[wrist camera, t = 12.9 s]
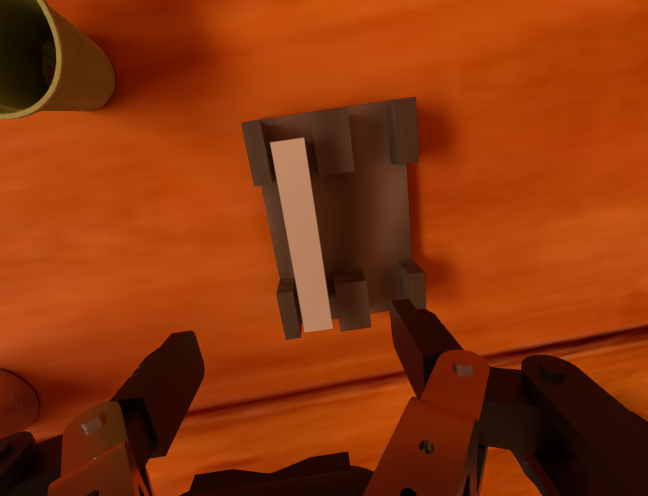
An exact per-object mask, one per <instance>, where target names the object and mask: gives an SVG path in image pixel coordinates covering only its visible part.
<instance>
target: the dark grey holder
mask: <svg viewBox="0 0 648 496" xmlns="http://www.w3.org/2000/svg"><path fill="white" fill-rule="evenodd" d="M241 125H242V129H243V134H244V139H245V144H246V149H247V154H248V159H249V163H250V168H251V173H252V178H253V183H254V186H260V185H261V186H262V191H263V197H264V202H265V207H266V212H267V217H268V222H269V227H270V232H271V237H272V242H273V247H274V252H275V257H276V262H277V267H278V272H279V277H280V282H279V286H278V290H277V299H278V304H279V309H280V314H281V319H282V323H283V328H284V333H285V338H286V340H288V339H295V338H301V327H302V323H303V320H302V314H301V309H300V303H299V298H298V292H297V287H296V281H295V276H294V270H293V265H292V260H291V254H290V249H289V243H288V238H287V232H286V227H285V221H284V216H283V210H282V205H281V200H280V194H279V189H278V183H277V178H276V172H275V167H274V161H273V156H272V150H271V145H270V143H271V142H277V141H284V140H291V139H298V138H304V139H305V144H306V150H307V157H308V164H309V170H310V177H311V183H312V190H313V197H314V203H315V210H316V217H317V223H318V230H319V236H320V243H321V250H322V256H323V263H324V270H325V276H326V283H327V289H328V296H329V303H330V311H331V318H332V319H335V318H339V322H340V328H341V332H342V331H349V330H355V329H362V328H369V327H371V320H370V313H376V312H382V311H389V310H390V301H394V300H401V299H407V298H408V299H409V300H410V301H411V302H412V304H413V305H414V306H415V308H416V309H426V296H425V275H424V271H423V270H422V269H421V268H420V267H419V266H418V265H417V264H416V263H415V262H414V261H413V260H412V249H411V232H410V216H409V199H408V182H407V165H406V164H408V163H415V162H419V149H418V128H417V107H416V97H412V98H405V99H396V100H390V101H383V102H376V103H369V104H363V105H356V106H349V107H342V108H336V109H329V110H322V111H315V112H309V113H302V114H295V115H288V116H281V117H275V118H268V119H261V120H254V121H249V122H243V123H241Z"/></svg>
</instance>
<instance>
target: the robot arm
mask: <svg viewBox="0 0 648 496" xmlns="http://www.w3.org/2000/svg"><path fill="white" fill-rule="evenodd" d="M390 317H391V329H392V338H393V343H394V347H395V350H396V352H397V355H398V357H399V359H400V361H401V363H402V366H403V368H404V370H405V372H406V375H407V377H408V379H409V381H410V383H411V386H412V388H413V390H414V392H415V394H416V397H417V398H416V397H412V398H411V399H410V400H409V402H408V404H407V406H406V408H405V410H404V412H403V414H402V416H401V418H400V420H399V422H398V424H397V426H396V428H395V431H394V433H393V435H392V437H391V439H390V441H389V443H388V445H387V447H386V449H385V451H384V453H383V455H382V457H381V459H380V461H379V463H378V465H377V467H376V469H375V472H374V471H371V470H369V469H366V468H362V467H358V466H352V465H350V461H349V455H348V452H342V453H336V454H329V455H323V456H316V457H310V458H308V459H305V460H303V461H300V462H298V463H296V464H293V465H291V466H288V467H286V468H283V469H281V470H278V471H276V472H273V473H260V472H252V471H243V470H235V469H231V470H224V471H217V472H211V473H204V474H198V475H195V477H194V479H193V482H192V485H191V488H190V490H189V491H188V492H186V493H184V494H182V495H180V496H480V490H481V484H482V478H483V473H484V467H485V461H486V455H487V449H488V446H489V447H496V448H502V449H509V450H516V451H521V452H522V454H523V455H524V457H525V458H526V460H527V461H528V463H529V464H530V466H531V467H532V469H533V471H534V472H535V474H536V475H537V477H538V478H539V480H540V481H541V483H542V484H543V486H544V487H545V489H546V490H547V492H548V493H549V495H550V496H648V426H647V425H645V424H644V423H643V422H642V421H641V420H639V419H638V418H637V417H636V416H635V415H633V414H632V413H631V412H630V411H629V410H628V409H626V408H625V407H624V406H623V405H622V404H620V403H619V402H618V401H617V400H616V399H614V398H613V397H612V396H611V395H610V394H609V393H607V392H606V391H605V390H604V389H603V388H601V387H600V386H599V385H598V384H597V383H595V382H594V381H593V380H592V379H591V378H590V377H588V376H587V375H586V374H585V373H584V372H582V371H581V370H580V369H579V368H578V367H576V366H575V365H573V364H571V363H570V362H568V361H565V360H563V359H560V358H557V357H553V356H548V355H533V356H529V357H527V358H525V359H524V360H523V361H522V365H521V370H516V369H503V368H495V367H490V366H489V365H488V363H487V362H486V360H485V359H483V358H482V357H481V356H479V355H477V354H475V353H473V352H470V351H465V350H463V349H462V347H461V346H460V345H459V344H458V342H457V341H456V340H455V339H454V337H453V336H452V335H451V334H450V332H449V331H448V330H446V328H445V326H444V325H443V324H442V323H441V321H440V320H439V319H438V318H437V316H436V315H435V314H433V313H432V312H430V311H428V310H426V309H416V308H415V306H414V305H413V304H412V302H411V301H410V300H409V299H408V298H407V299H401V300H394V301H390ZM203 377H204V362H203V359H202V355H201V352H200V349H199V346H198V342H197V339H196V336H195V334H194V332H193V331H185V332H178V333H172V334H171V335H170V336H169V337H168V338H167V339H166V341H165V342H164V343H163V344H162V346H161V347H160V348H158V349H156V350H155V351H154V352H152V353H151V354H150V355H148V356H147V357H146V358H145V359H144V361H143V362H142V363H141V364H140V365H139V368H137V369H136V370H135V371H134V373H133V374H132V377H129V379H128V380H127V381H126V382H125V383H124V385H123V386H122V387H121V388H120V389H119V391H118V392H117V393H116V394H115V396H114V397H113V398H112V399H111V400H110V402H106V403H102V404H99V405H96V406H94V407H92V408H90V409H88V410H86V411H85V412H83V413H82V414H80V415H79V416H78V417H76V418H75V419H74V420H73V421H72V422H71V423H70V424H69V425H68V426H67V427H66V429H65V431H64V433H63V434H62V435H59V436H57V437H54V438H51V439H48V440H46V441H43V442H40V443H38V444H37V443H36V441H35V439H34V437H33V435H32V434H31V433H30V432H26V431H24V430H25V429H26V428H27V427H28V426H29V425H31V424H32V422H33V421H34V420H35V419H36V417H37V415H38V412H39V403H38V400H37V397H36V395H35V393H34V392H33V390H32V389H31V388H30V387H29V386H28V385H27V384H26V383H25V382H24V381H23V380H21V379H20V378H18V377H16V376H15V375H13V374H11V373H8V372H5V371H2V370H0V496H154V492H153V488H152V485H151V481H150V477H149V473H148V471H147V468H146V466H145V465H146V463H147V462H148V460H149V459H150V458H156V457H163V456H166V454H167V452H168V450H169V448H170V446H171V444H172V442H173V440H174V438H175V435H176V433H177V431H178V429H179V427H180V425H181V423H182V421H183V419H184V417H185V415H186V413H187V411H188V409H189V407H190V405H191V403H192V401H193V399H194V396H195V394H196V392H197V390H198V388H199V386H200V384H201V382H202V380H203ZM23 431H24V432H23Z"/></svg>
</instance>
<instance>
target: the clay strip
mask: <svg viewBox="0 0 648 496" xmlns="http://www.w3.org/2000/svg"><path fill="white" fill-rule="evenodd" d="M270 145H271V150H272V156H273V161H274V167H275V172H276V178H277V183H278V189H279V194H280V200H281V205H282V210H283V216H284V221H285V227H286V232H287V238H288V243H289V249H290V254H291V260H292V265H293V270H294V276H295V281H296V287H297V292H298V298H299V303H300V309H301V314H302V320H303V325H304V331H305V332H311V331H318V330H325V329H331V328H333V326H332V318H331V311H330V303H329V296H328V289H327V283H326V276H325V270H324V263H323V256H322V250H321V243H320V236H319V230H318V223H317V217H316V210H315V203H314V197H313V190H312V183H311V177H310V170H309V164H308V157H307V150H306V144H305V139H304V138H298V139H291V140H284V141H277V142H271V143H270Z"/></svg>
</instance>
